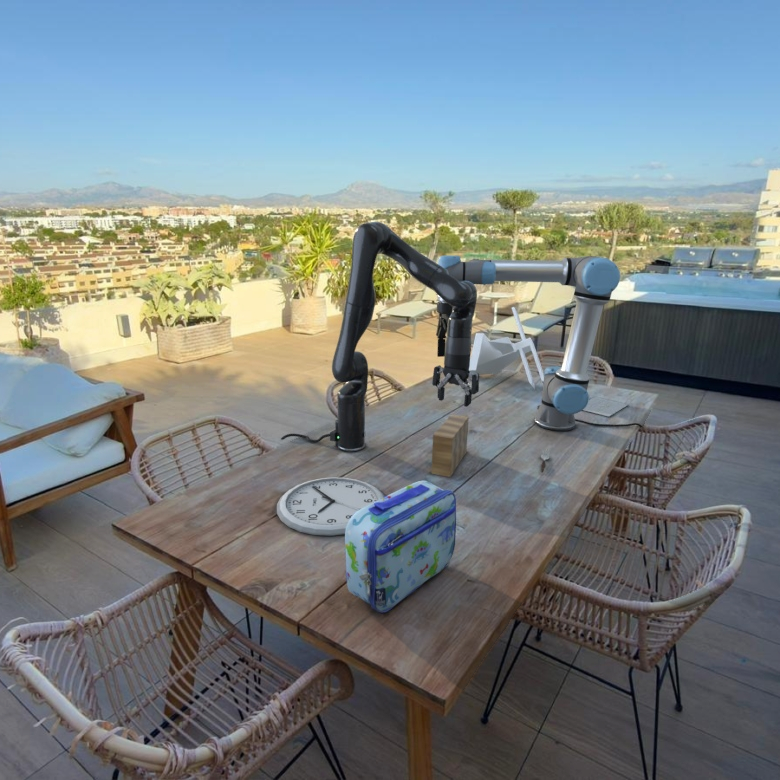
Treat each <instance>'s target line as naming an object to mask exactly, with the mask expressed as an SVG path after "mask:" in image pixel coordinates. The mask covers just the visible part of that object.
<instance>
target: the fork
mask: <svg viewBox="0 0 780 780" xmlns="http://www.w3.org/2000/svg"><path fill="white" fill-rule="evenodd" d="M550 450H551V449H550V448H549V450H548V448H547V449H546V451H548V452H546V451H544V450H542V451H541V455H540V458H541V460H542V463H541V473H543V472H544V470H545V468H546V461H547V460H549V459H550Z"/></svg>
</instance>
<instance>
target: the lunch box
mask: <svg viewBox="0 0 780 780" xmlns="http://www.w3.org/2000/svg"><path fill="white" fill-rule="evenodd" d="M456 531H457V499H456V495H455V493H454V492H453V490H450V489H442V488H440V487H439V486H437V485H435V484H433V483H432V482H430V481H428V480H418V481H416V482H413V483H410V484H409V485H406V486H405V487H402V488H400V489H398V490H396V491H394V492H392V493H390V494H388V495H385V497H384V498H382V499H380V500H378V501H376V502H374V503H372V504H370V505H368V506H366V507H364V508H362V509H360V510H358V511H357V512H355V513H354V514H353V515H352V517H351V518H350V520H349V522H348V524H347V527H346V531H345V534H344V552H345V577H346V578H345V580H346V586H347V589H348V592H349V593H350V594H352V595H354V596H356V597H357V598H359V599H361V600H363V602H365V603H367V604H368V605H370V607H371V608H372V609H373V610H375V611H376V612H378V613H380V614H382V613H383V614H385V613H387V612H389V611H391V609H393V608H394V607H395V606H396V605H397V604H400V602H401V601H402V600H404V599H406V597H409V596H410V595H411V594H412V593H414V592H415V591H416V590H417V589H418V588H420V587H421V586H422V585H423V584H424V583H425V582H427V581H428V580H430V579H432V578H433V577H434V576H436V575H437V574H439V573H441V572H442V571H443V570H445V568H446V567H447V566H448V564H449V563H450V561H451V560H452V557H453V554H454V551H455V548H456V547H455V546H456Z"/></svg>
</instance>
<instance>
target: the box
mask: <svg viewBox="0 0 780 780" xmlns="http://www.w3.org/2000/svg"><path fill="white" fill-rule="evenodd" d="M469 419H470V418H469V416H465V415H459V414H450V415H448V417H447V418H446V420H445V421H444V422H443V423H442V424H441V425H440V426H439V428H438V429H437V430H436V431H435V432H434V433H433V435H432V448H431V449H432V450H431V451H432V452H431V470H430V471H431V473H430V474H433V475H437V476H442V477H448V478H451V477H452V475H453V473H454V472H455V471H456V469H457V468H458V466H459V464H460V463H461V461H462V460H463V458H464V457H465V455H466V453H467V451H468V450H467V449H468V436H469V435H468V434H469V433H468V432H469Z"/></svg>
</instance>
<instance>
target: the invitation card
mask: <svg viewBox="0 0 780 780" xmlns="http://www.w3.org/2000/svg"><path fill="white" fill-rule="evenodd" d="M628 406H629V404H627V403H623V402H618V401H614V400H609V399H605V398H601V397H596V396H593V397H592V398H589V400H588V404H587V406H586V407H585V408H584V409H583V410H582V411H584V412H587V413H593V414H596V415H600V416H604V417H608V418H609V417H611V416H613V415H614V414H616V413H617V412H619V411H621V410H623V409H624V408H626V407H628Z"/></svg>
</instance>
